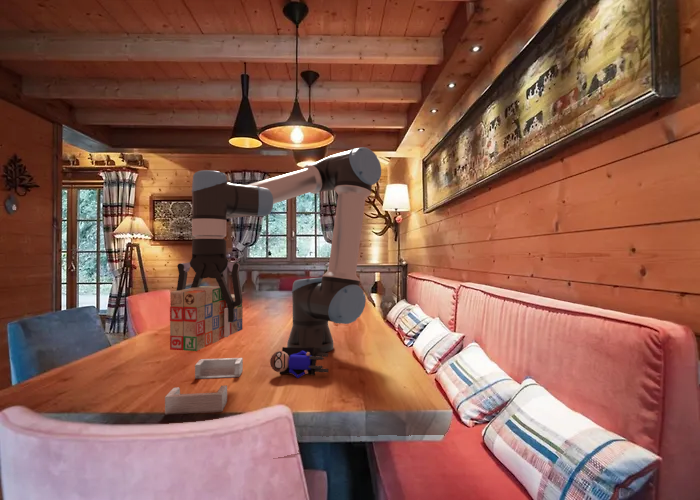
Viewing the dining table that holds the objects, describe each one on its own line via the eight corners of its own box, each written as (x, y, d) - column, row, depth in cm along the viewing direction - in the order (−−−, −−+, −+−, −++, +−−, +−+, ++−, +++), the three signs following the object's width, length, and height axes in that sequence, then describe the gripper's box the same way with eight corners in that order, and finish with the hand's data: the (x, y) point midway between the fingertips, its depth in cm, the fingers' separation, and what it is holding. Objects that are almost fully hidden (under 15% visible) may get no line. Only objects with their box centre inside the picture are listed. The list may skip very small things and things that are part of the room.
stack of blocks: (220, 329, 101) (220, 282, 101) (242, 330, 100) (243, 282, 100) (169, 349, 80) (169, 290, 80) (196, 351, 79) (197, 291, 79)
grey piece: (242, 370, 103) (242, 357, 103) (239, 377, 98) (239, 363, 98) (200, 372, 102) (200, 359, 102) (195, 378, 97) (195, 365, 97)
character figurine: (325, 382, 95) (267, 380, 97) (331, 371, 102) (277, 369, 104) (324, 351, 94) (266, 350, 97) (330, 342, 102) (276, 341, 104)
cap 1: (165, 414, 76) (164, 397, 76) (173, 404, 81) (173, 387, 81) (222, 411, 77) (221, 394, 77) (227, 401, 82) (227, 385, 82)
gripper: (255, 239, 95) (255, 332, 94) (169, 238, 92) (169, 334, 92) (251, 238, 87) (251, 338, 87) (157, 237, 85) (157, 341, 85)
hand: (209, 336), depth 90 cm, fingers closed on stack of blocks, 7 cm apart
